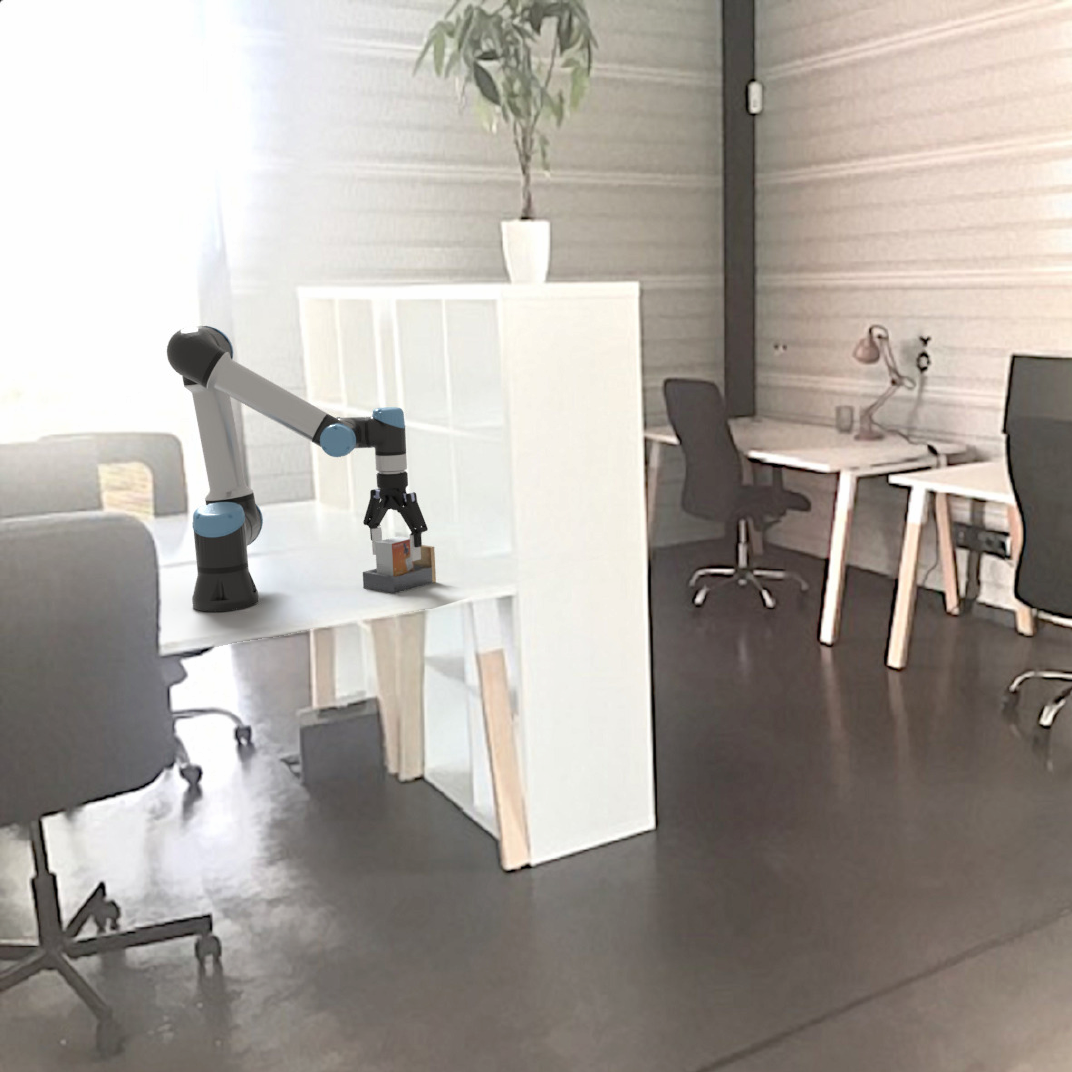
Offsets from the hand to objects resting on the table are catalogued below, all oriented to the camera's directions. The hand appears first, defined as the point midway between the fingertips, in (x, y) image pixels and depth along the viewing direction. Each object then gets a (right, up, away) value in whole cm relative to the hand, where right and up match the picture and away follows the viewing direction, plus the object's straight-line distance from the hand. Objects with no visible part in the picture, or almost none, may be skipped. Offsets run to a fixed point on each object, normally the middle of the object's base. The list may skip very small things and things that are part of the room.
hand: (396, 557), depth 291 cm
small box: (0, -6, +1) cm, 6 cm away
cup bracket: (0, -7, +1) cm, 7 cm away
